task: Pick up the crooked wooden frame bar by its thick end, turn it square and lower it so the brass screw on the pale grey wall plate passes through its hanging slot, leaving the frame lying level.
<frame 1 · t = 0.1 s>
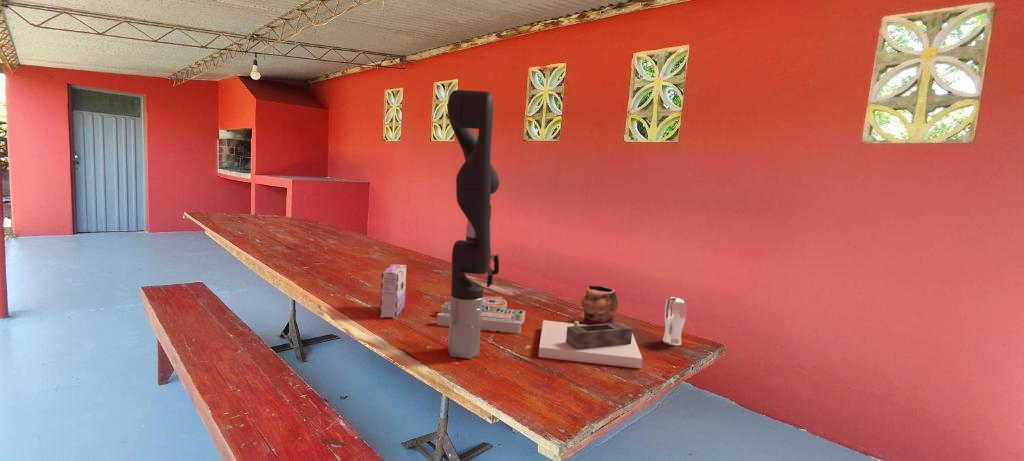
hand: (475, 285, 156), 17 cm above the table, tool pointing down, fingers open, 8 cm apart
wall plate: (587, 346, 158), on the table
decorative planter: (598, 325, 181), on the table
sign: (483, 317, 181), on the table
frame: (598, 343, 153), point 3 cm above the table, touching wall plate
beer glass: (671, 343, 167), on the table
candy box: (392, 313, 177), on the table
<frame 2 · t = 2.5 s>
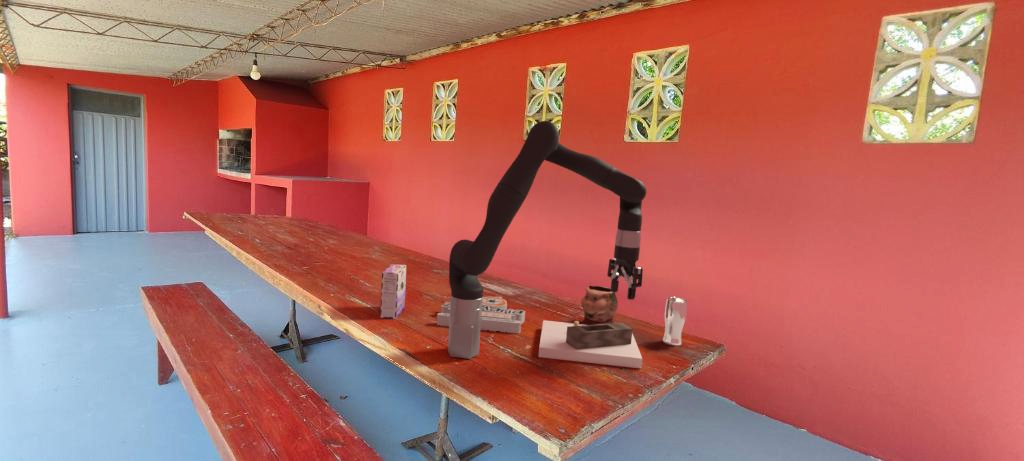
hand: (622, 295, 154), 18 cm above the table, tool pointing down, fingers open, 8 cm apart
nothing on the table moved.
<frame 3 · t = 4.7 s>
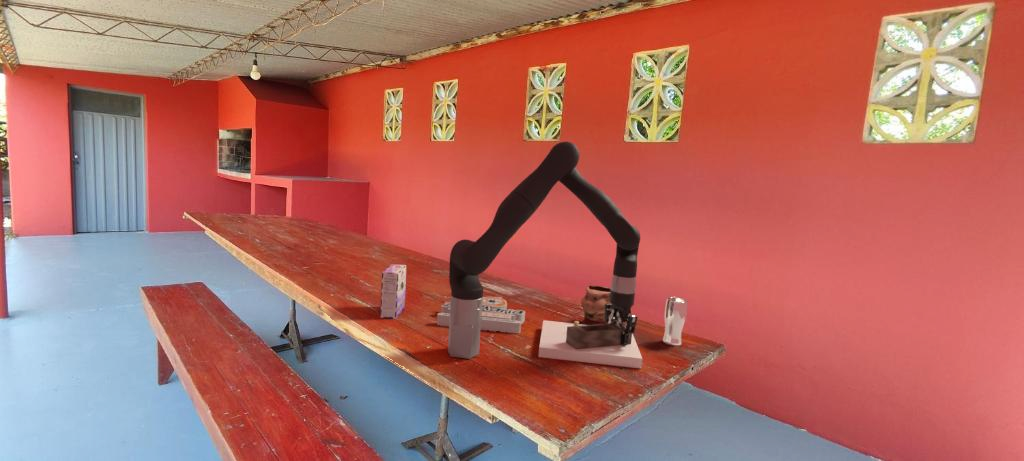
hand: (617, 341, 156), 3 cm above the table, tool pointing down, fingers closed on frame, 6 cm apart
frame: (598, 343, 153), point 3 cm above the table, touching gripper, wall plate
everything else where it was.
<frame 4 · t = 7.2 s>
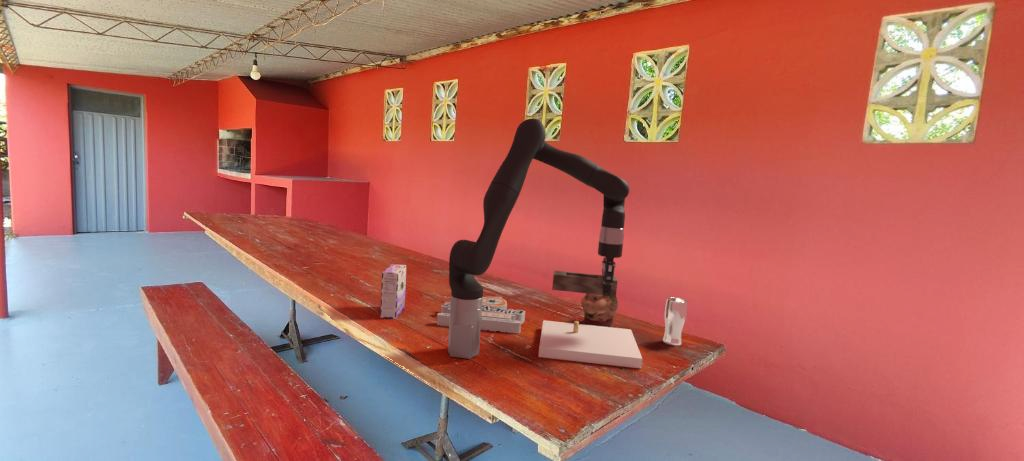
hand: (605, 292, 158), 17 cm above the table, tool pointing down, fingers closed on frame, 6 cm apart
frame: (583, 290, 159), point 17 cm above the table, touching gripper
everything else where it was.
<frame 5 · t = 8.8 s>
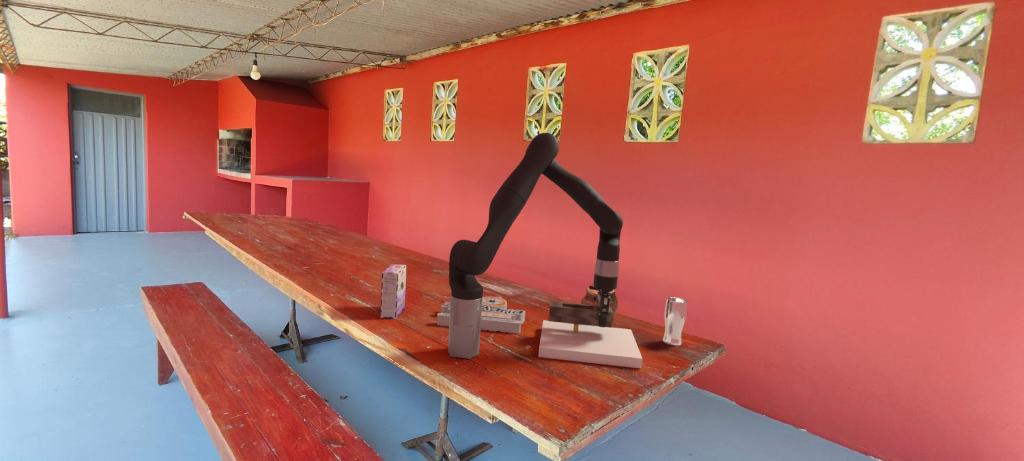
hand: (601, 323, 160), 7 cm above the table, tool pointing down, fingers closed on frame, 6 cm apart
frame: (579, 321, 161), point 7 cm above the table, touching gripper
everything else where it was.
when the fingers open (5 cm above the table, at t = 9.8 s): frame drops 1 cm, resting on wall plate.
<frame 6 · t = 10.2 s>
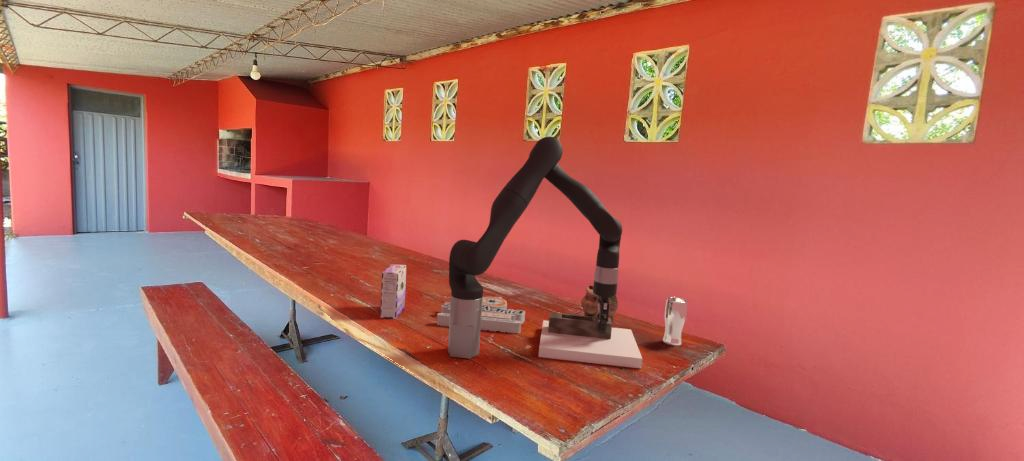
hand: (600, 328, 160), 5 cm above the table, tool pointing down, fingers open, 8 cm apart
frame: (578, 332, 161), point 3 cm above the table, touching wall plate
everything else where it was.
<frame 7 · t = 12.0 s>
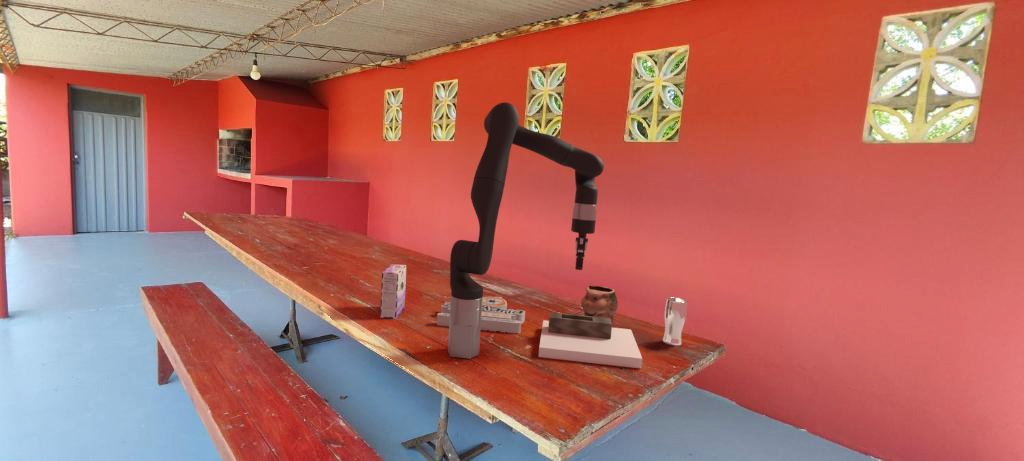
hand: (579, 267, 160), 24 cm above the table, tool pointing down, fingers open, 8 cm apart
nothing on the table moved.
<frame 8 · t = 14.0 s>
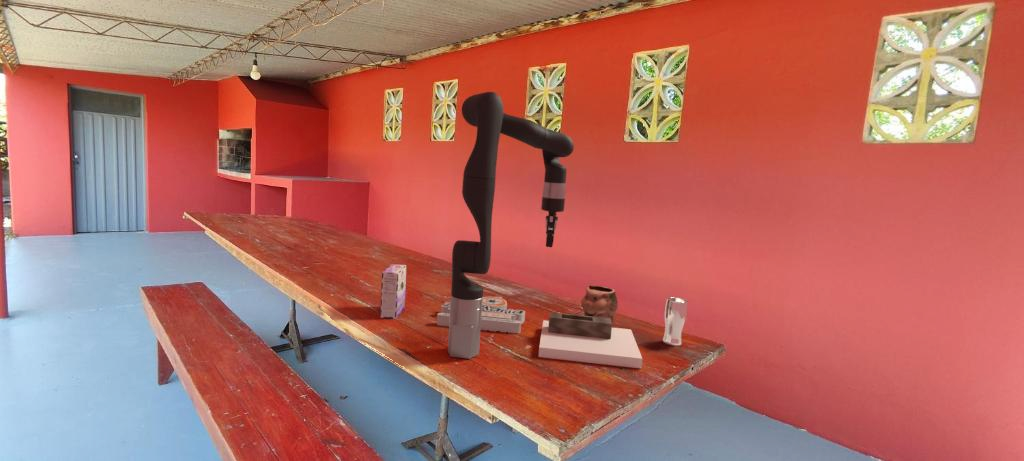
hand: (549, 244, 165), 30 cm above the table, tool pointing down, fingers open, 8 cm apart
nothing on the table moved.
at the end: frame 0.1 cm from the target spot on the wall plate, point 3.0 cm above the wall plate's base; frame tilted 0°; the gripper is holding nothing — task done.
